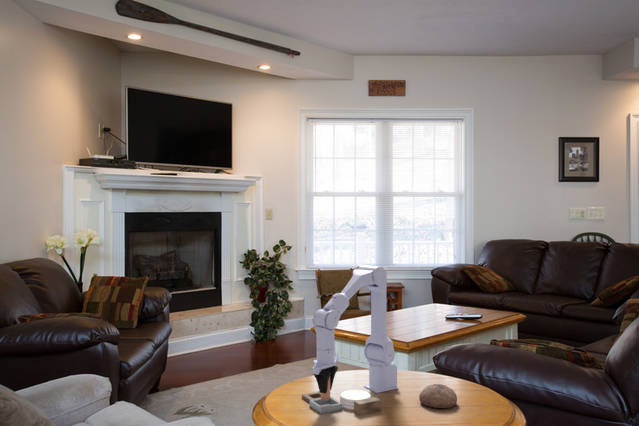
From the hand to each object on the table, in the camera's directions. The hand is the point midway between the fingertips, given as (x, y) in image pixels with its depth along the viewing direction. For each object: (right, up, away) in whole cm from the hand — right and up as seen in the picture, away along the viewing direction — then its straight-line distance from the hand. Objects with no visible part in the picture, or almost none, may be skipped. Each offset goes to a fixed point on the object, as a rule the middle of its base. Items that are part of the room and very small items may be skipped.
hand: (325, 391), depth 170 cm
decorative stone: (+38, -7, +1) cm, 39 cm away
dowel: (0, -2, 0) cm, 2 cm away
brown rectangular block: (+13, -5, -3) cm, 14 cm away
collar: (-3, -5, +8) cm, 10 cm away
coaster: (+10, -6, +3) cm, 12 cm away
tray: (0, -6, 0) cm, 6 cm away
